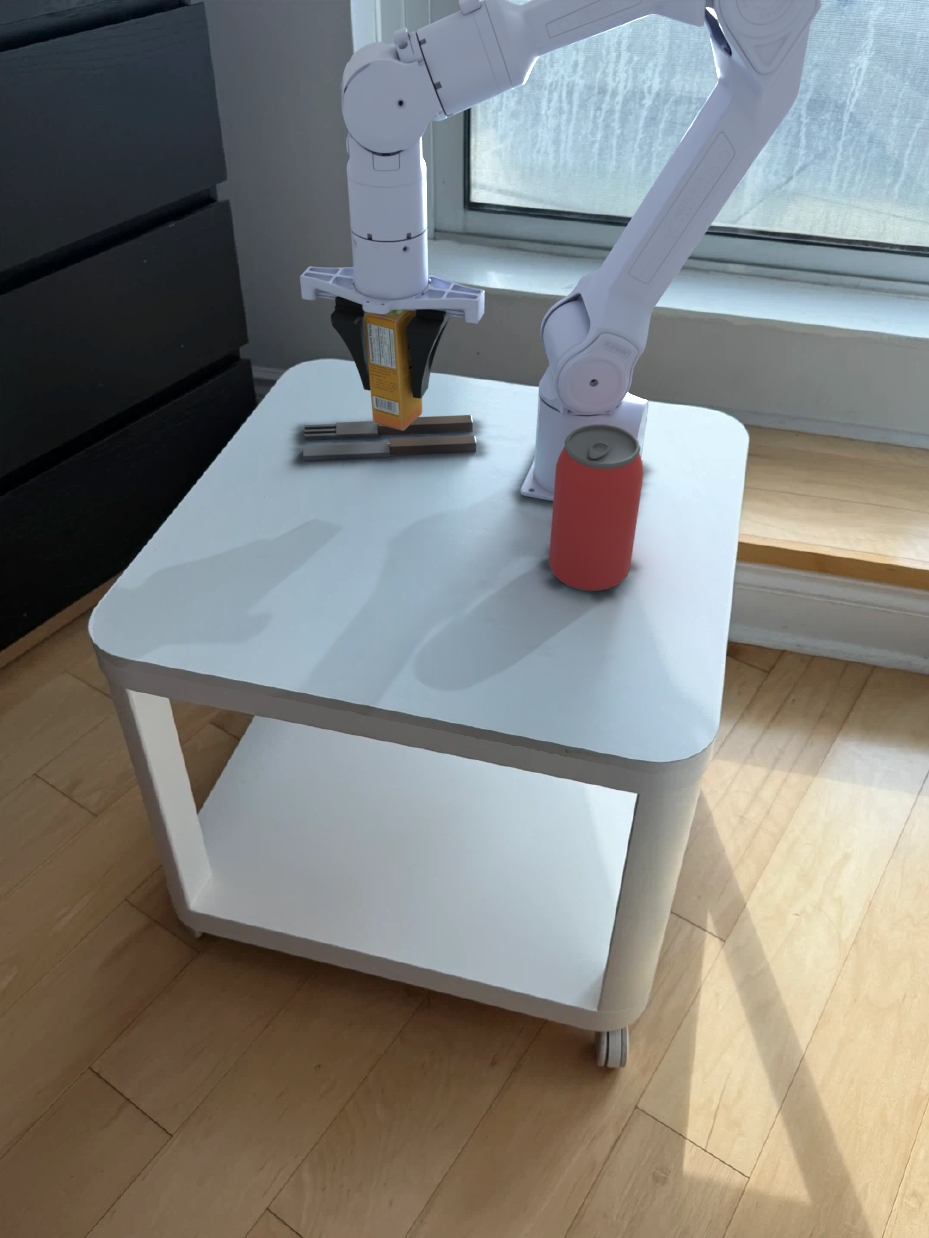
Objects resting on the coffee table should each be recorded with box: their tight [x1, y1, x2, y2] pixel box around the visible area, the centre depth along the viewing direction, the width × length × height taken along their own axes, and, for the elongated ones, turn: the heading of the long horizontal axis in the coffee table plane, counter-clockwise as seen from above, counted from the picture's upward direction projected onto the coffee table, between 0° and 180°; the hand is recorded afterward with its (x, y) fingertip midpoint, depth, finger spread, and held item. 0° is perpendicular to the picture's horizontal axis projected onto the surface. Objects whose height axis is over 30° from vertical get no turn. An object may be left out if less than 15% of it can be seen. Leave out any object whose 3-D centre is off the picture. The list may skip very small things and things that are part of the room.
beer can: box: [548, 424, 645, 592], centre depth 83 cm, size 7×7×12 cm
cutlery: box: [302, 414, 477, 461], centre depth 101 cm, size 16×6×1 cm, turn 95°
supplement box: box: [364, 310, 423, 431], centre depth 87 cm, size 3×4×10 cm
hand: (395, 388), depth 89 cm, fingers closed on supplement box, 4 cm apart
